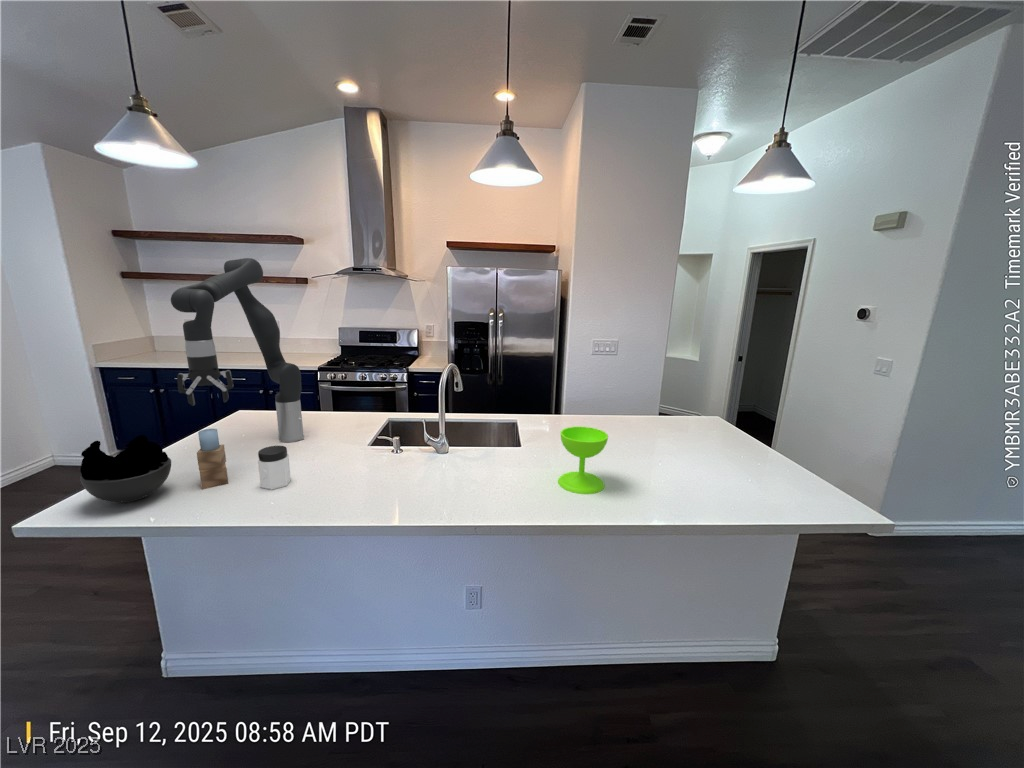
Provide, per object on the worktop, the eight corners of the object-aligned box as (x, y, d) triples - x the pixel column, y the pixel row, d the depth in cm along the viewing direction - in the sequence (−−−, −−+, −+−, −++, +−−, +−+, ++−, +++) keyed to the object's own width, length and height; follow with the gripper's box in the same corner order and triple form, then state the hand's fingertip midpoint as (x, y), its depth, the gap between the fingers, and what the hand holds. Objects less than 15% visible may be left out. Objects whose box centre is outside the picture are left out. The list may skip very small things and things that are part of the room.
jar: (254, 487, 134) (250, 452, 132) (275, 476, 142) (272, 443, 139) (276, 491, 132) (272, 456, 129) (296, 480, 139) (293, 447, 137)
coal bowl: (192, 487, 133) (183, 432, 129) (123, 520, 113) (110, 456, 109) (142, 480, 137) (132, 426, 132) (67, 510, 117) (53, 448, 113)
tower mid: (226, 461, 139) (224, 444, 138) (221, 468, 134) (218, 450, 132) (204, 463, 137) (202, 446, 136) (199, 470, 132) (196, 452, 130)
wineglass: (567, 469, 154) (569, 423, 150) (609, 479, 146) (613, 431, 143) (550, 486, 140) (553, 436, 136) (596, 498, 133) (600, 445, 129)
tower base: (226, 476, 141) (224, 460, 140) (228, 484, 136) (226, 467, 135) (201, 481, 137) (199, 464, 136) (202, 489, 132) (199, 472, 130)
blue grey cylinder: (220, 445, 137) (218, 427, 136) (218, 450, 133) (215, 432, 132) (202, 447, 135) (199, 429, 134) (199, 452, 131) (196, 434, 129)
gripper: (229, 351, 136) (236, 398, 140) (175, 353, 130) (184, 403, 134) (227, 354, 130) (234, 403, 134) (170, 357, 123) (179, 409, 127)
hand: (209, 403), depth 134 cm, fingers open, 8 cm apart
